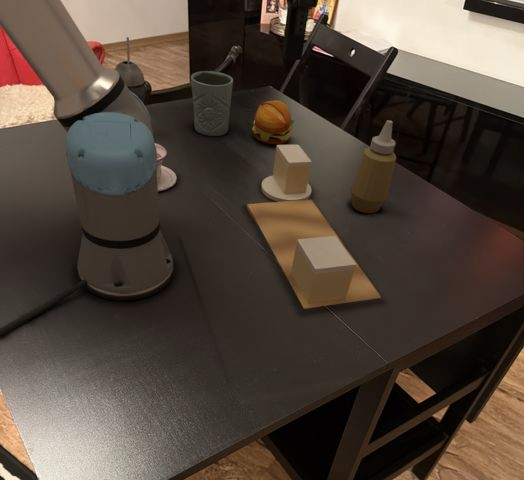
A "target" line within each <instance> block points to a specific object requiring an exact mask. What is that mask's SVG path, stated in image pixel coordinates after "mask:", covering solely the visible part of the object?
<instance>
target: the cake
mask: <svg viewBox="0 0 524 480" xmlns="http://www.w3.org/2000/svg"><path fill="white" fill-rule="evenodd" d="M341 242H342V241H341ZM341 242H340V241H339V240H338V238H337V237H336V236H328V237H317V238H307V239H297V243H296V248H295V254H294V259H293V265H292V270H291V275H292V277H293V278H294V280H295V282H296V284H297V285H298V287H299V289H300V291H301V293H302V294H303V296H304V298H305V300H306V302H307V303H315V302H322V301H330V300H337V299H344V298H346V296H347V293H348V290H349V286H350V283H351V280H352V277H353V273H354V270H355V267H356V263H357V262H356V263H355V262H354V261H353V259H352V258H351V256H352V255H351V256H350V255H349V254H348V252H347V251H346V249H347V248H346V249H345V248H344V247H343V245H342V244H341Z"/></svg>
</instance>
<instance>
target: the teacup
mask: <svg viewBox="0 0 524 480" xmlns="http://www.w3.org/2000/svg"><path fill="white" fill-rule="evenodd" d="M154 143H155V142H154ZM155 146H156V150H157V165H156V168H157V185H158V193H159V192H162V191H166V190H169V189H170V188H172V187H174V186H175V184H176V183H177V179H178V177H177V174H176V172H174V171H173V170H172V169H171V168H169V167H166V166H165V165H162V164H163V163H164V160H165V159H166V158H167V153H168V152H167V149H166V148H165V147H164V146H163V145H161V144H159V143H155Z"/></svg>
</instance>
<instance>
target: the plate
mask: <svg viewBox="0 0 524 480" xmlns="http://www.w3.org/2000/svg"><path fill="white" fill-rule="evenodd" d="M260 187H261V188H260V189H261V192H262V194H263V195H264V196H265V197H266V198H268V199H270V200H272V201H273V202H284V201H298V200H310V199H311V196H312V191H313V189H312V187H311V184H309V183H308V184H307V189H306V193H297V194H284V193H283V192H282V190H281V188H280V187H279V185H278V184H277V182H276V181H275V179H274V177H273V174H272V175H269V176H267V177H265V178H264V179H263V180H262V182H261V186H260Z"/></svg>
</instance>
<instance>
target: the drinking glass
mask: <svg viewBox="0 0 524 480" xmlns="http://www.w3.org/2000/svg"><path fill="white" fill-rule="evenodd" d="M190 83H191V92H192V105H193V107H192V108H193V119H194V120H193V123H194V124H193V125H194V130H195V131H196V132H197V133H199V134H201V135H203V136H208V137H220V136H223V135H225V134H227V133H228V131H229V122H230V114H231V112H230V110H231V105H232V95H233V94H232V93H233V86H234V79H233V77H232V76H231V75H228V74H226V73H223V72H219V71H212V70H203V71H197V72H194V73H192V74H191V76H190Z"/></svg>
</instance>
